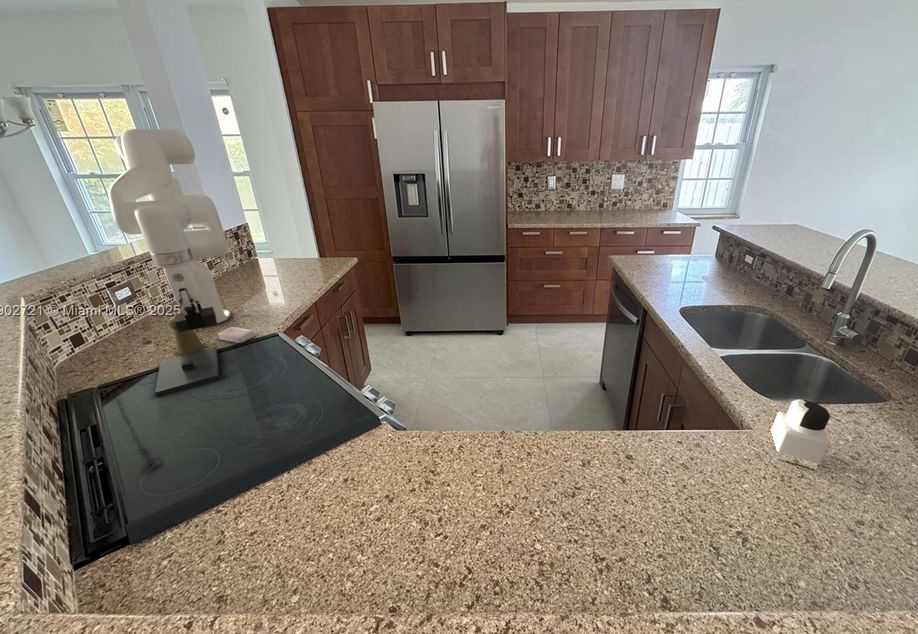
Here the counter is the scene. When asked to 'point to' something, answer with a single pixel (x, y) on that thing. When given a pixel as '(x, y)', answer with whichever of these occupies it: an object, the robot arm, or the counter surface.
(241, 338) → the soap bar
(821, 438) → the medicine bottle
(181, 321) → the top pad
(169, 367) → the base pad
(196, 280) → the robot arm
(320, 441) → the counter surface
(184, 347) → the cork
